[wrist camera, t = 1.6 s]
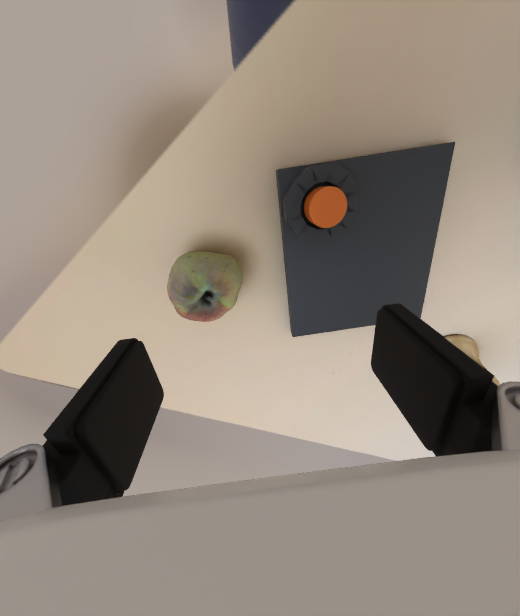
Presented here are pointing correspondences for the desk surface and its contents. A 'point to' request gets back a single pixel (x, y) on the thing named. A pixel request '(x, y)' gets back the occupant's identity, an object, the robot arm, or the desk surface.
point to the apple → (204, 285)
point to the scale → (362, 237)
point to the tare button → (325, 206)
